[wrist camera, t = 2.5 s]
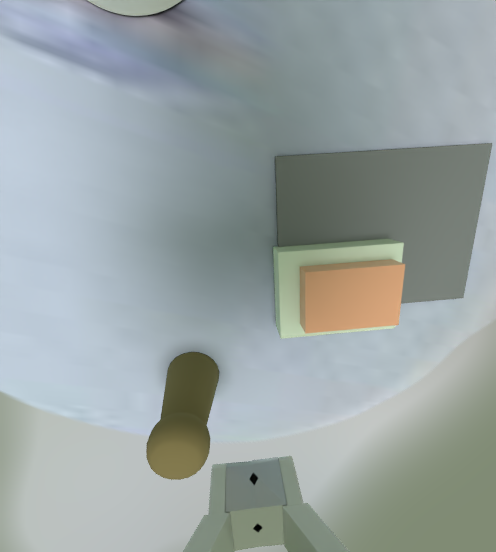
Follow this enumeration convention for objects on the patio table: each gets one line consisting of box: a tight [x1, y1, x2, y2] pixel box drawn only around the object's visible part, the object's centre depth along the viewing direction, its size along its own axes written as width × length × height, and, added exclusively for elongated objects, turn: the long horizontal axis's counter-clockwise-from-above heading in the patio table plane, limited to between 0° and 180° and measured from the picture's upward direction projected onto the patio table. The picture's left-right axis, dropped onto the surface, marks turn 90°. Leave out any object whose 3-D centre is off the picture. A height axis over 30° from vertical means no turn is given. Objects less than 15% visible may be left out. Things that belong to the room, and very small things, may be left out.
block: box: [300, 259, 405, 334], centre depth 25 cm, size 6×9×2 cm, turn 94°
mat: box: [275, 143, 492, 303], centre depth 27 cm, size 16×21×1 cm
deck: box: [273, 239, 404, 339], centre depth 27 cm, size 9×12×3 cm
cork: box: [147, 352, 219, 479], centre depth 26 cm, size 6×6×11 cm
